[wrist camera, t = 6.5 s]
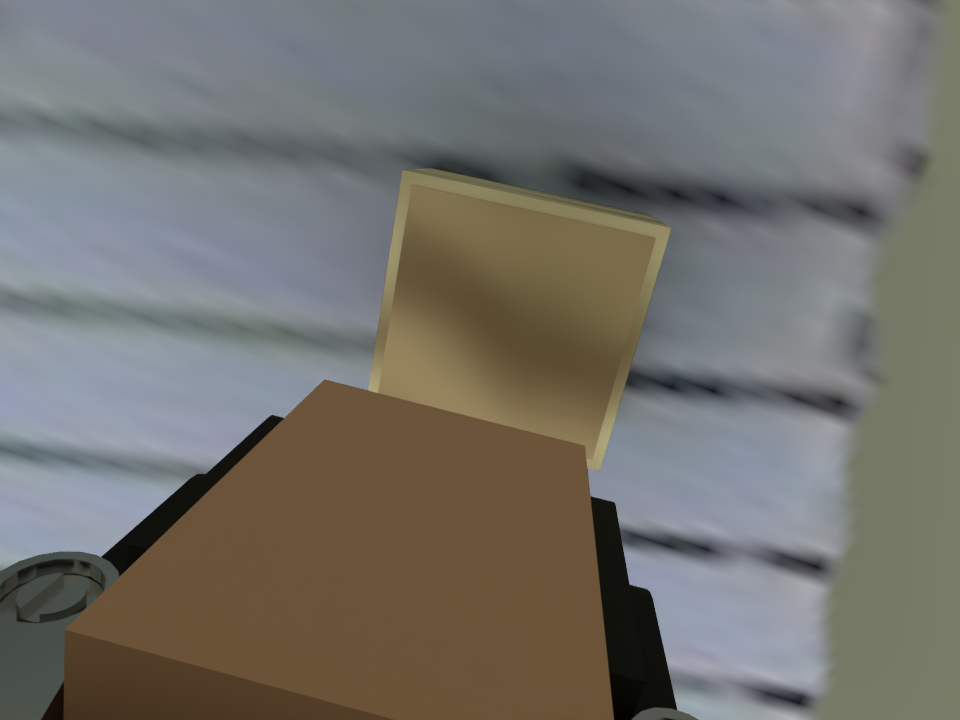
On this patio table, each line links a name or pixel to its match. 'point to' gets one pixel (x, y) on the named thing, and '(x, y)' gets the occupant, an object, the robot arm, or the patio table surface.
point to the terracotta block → (362, 581)
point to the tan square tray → (514, 305)
